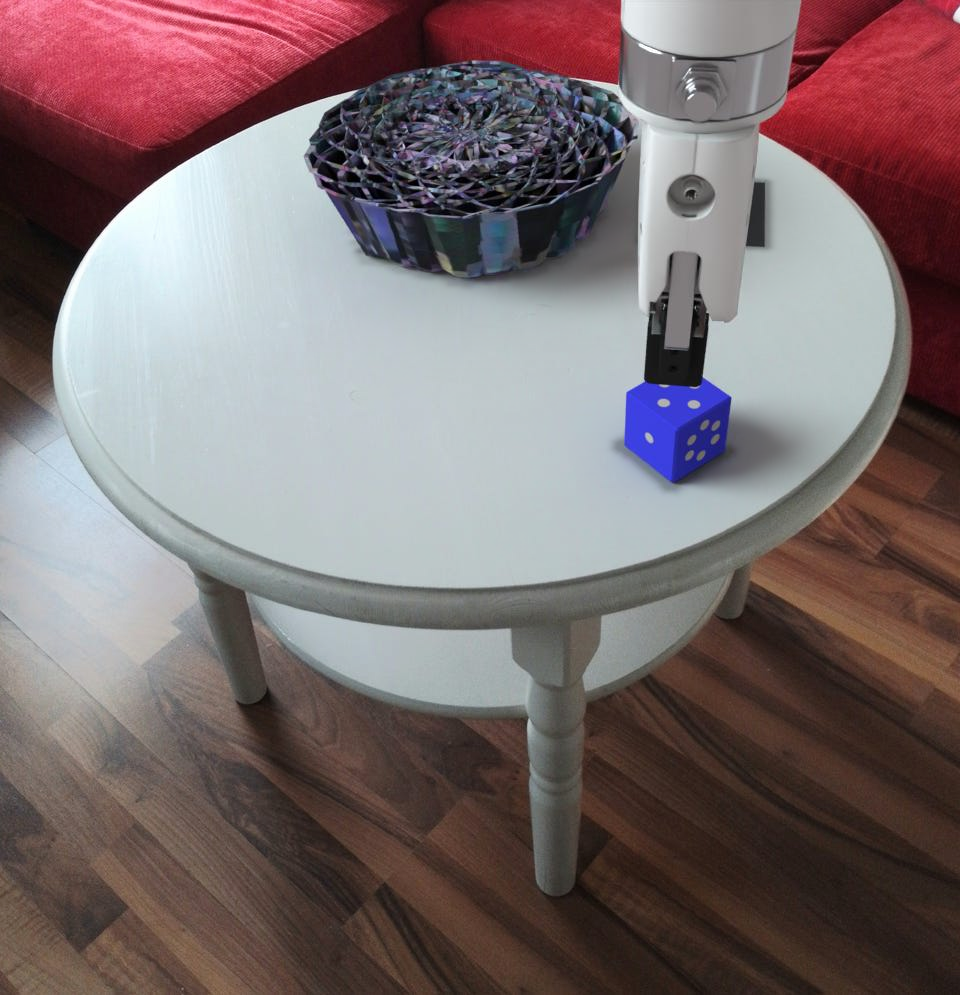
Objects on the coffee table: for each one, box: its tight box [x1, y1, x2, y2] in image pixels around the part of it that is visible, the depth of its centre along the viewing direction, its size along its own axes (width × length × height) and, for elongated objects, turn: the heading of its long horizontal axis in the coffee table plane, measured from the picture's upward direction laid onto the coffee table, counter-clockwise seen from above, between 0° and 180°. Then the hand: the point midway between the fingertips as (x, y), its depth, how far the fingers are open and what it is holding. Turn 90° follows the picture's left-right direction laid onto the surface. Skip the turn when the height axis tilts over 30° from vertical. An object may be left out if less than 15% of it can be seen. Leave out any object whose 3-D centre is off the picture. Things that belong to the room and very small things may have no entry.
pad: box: [746, 181, 766, 248], centre depth 96 cm, size 10×10×1 cm
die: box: [623, 377, 732, 483], centre depth 74 cm, size 5×5×5 cm
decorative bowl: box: [303, 60, 640, 278], centre depth 95 cm, size 26×28×10 cm
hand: (673, 375), depth 62 cm, fingers closed
